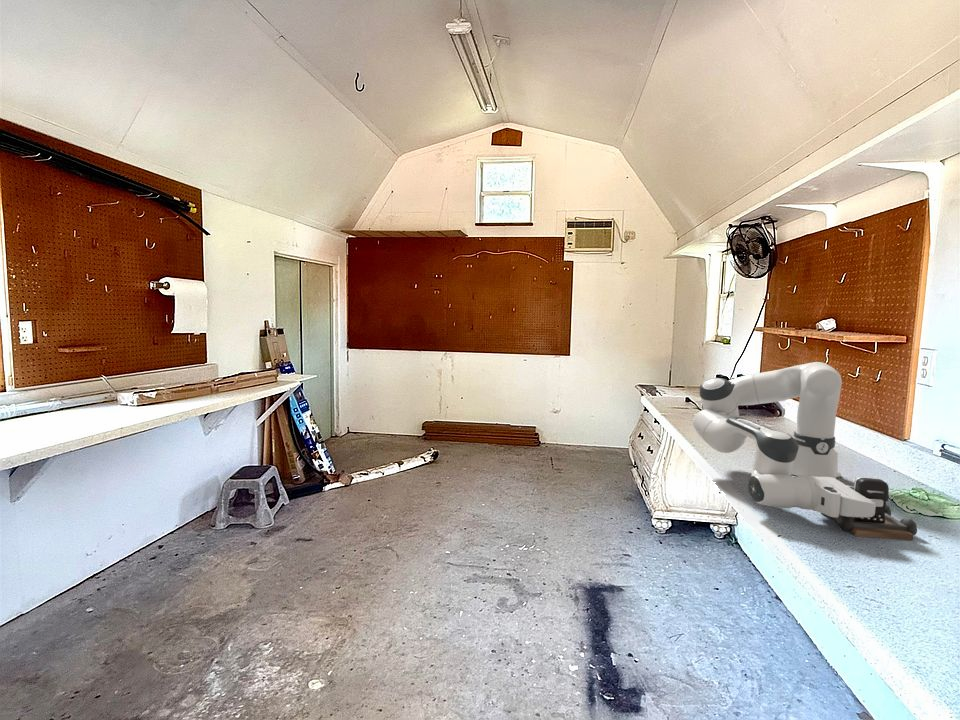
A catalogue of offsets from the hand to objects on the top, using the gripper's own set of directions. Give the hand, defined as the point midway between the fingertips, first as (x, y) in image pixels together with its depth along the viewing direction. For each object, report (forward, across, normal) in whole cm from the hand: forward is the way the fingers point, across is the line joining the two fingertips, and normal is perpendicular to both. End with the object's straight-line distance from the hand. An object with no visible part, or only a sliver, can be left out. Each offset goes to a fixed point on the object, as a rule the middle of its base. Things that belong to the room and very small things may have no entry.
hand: (872, 497), depth 132 cm
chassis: (-1, -1, -8) cm, 8 cm away
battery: (-1, +2, -6) cm, 7 cm away
